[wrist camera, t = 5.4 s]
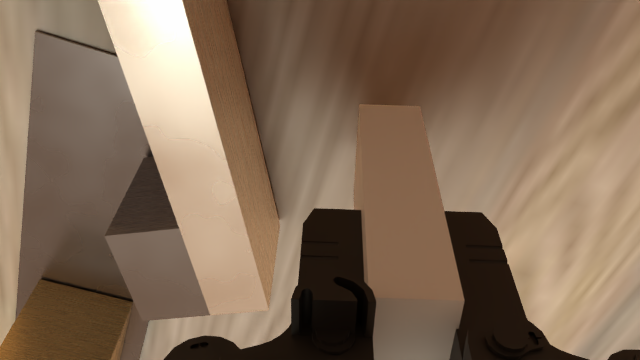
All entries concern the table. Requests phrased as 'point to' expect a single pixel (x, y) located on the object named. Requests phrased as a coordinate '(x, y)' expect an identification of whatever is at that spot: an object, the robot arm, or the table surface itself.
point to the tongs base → (78, 173)
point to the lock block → (67, 326)
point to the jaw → (191, 166)
